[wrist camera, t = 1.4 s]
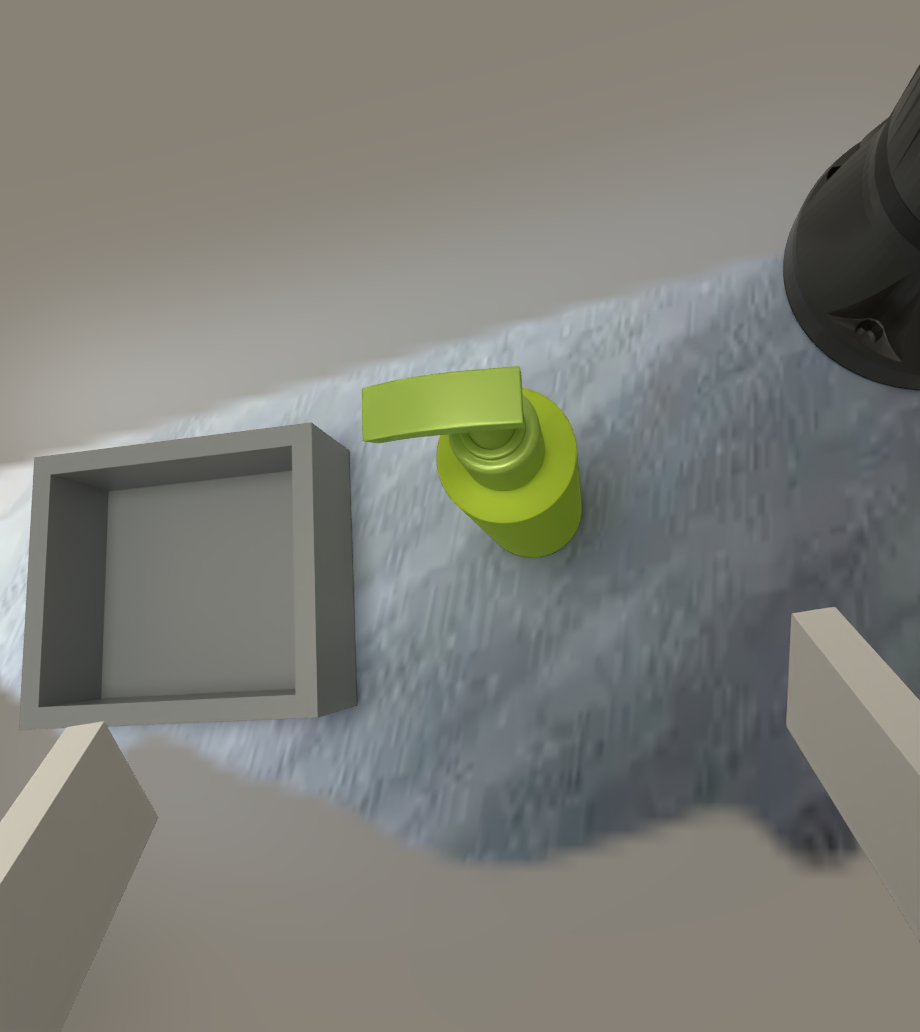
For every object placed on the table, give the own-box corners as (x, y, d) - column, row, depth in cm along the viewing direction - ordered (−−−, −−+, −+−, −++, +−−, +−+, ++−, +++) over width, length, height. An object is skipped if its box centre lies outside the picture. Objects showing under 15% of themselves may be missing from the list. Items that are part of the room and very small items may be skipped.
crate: (349, 450, 43) (311, 422, 37) (356, 705, 40) (317, 717, 35) (104, 479, 47) (34, 457, 41) (95, 716, 44) (18, 730, 38)
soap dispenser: (465, 468, 42) (355, 326, 22) (578, 457, 40) (564, 298, 21) (470, 561, 41) (358, 498, 21) (585, 554, 39) (578, 479, 20)
